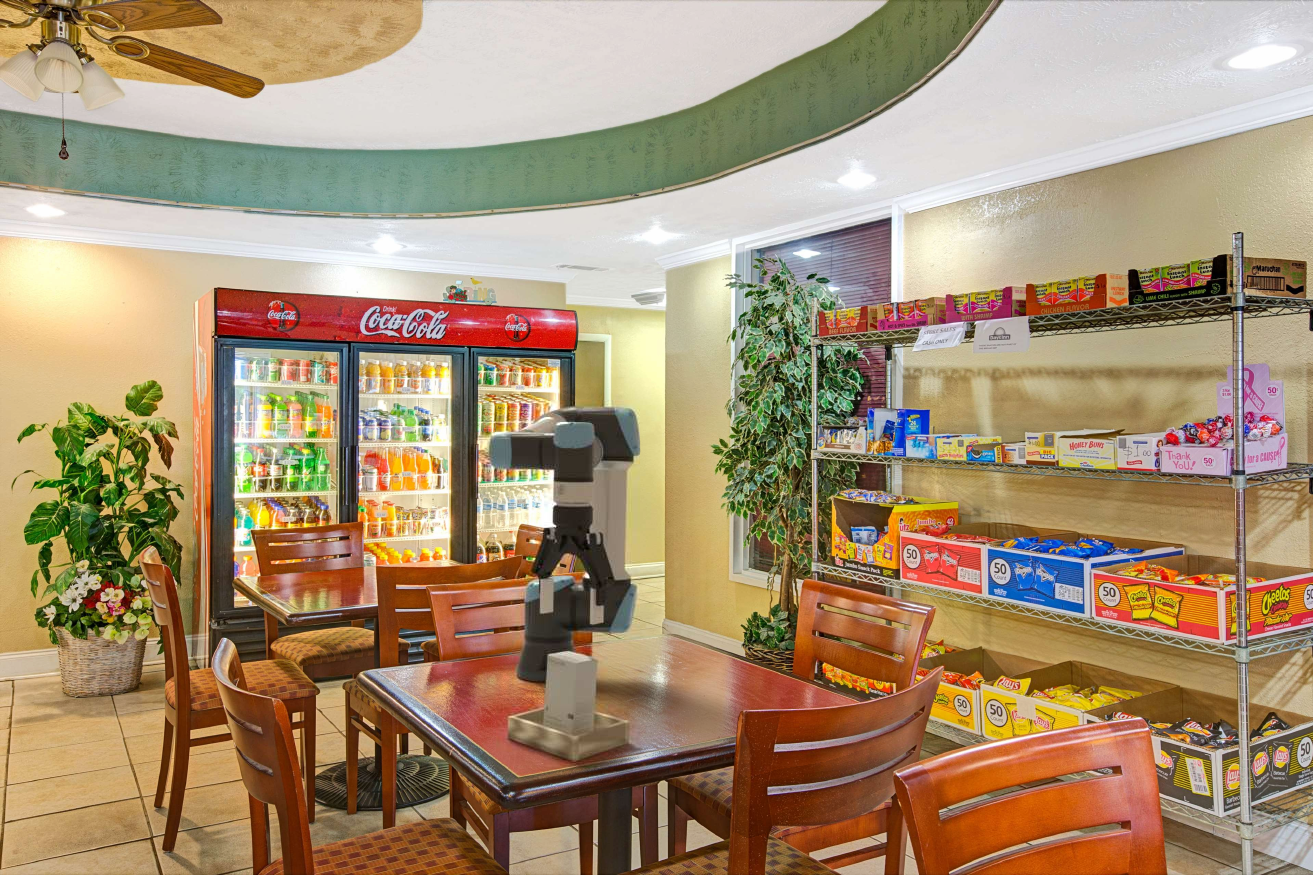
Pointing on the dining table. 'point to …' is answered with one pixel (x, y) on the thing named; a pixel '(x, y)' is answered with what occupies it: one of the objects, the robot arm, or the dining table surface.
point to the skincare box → (570, 692)
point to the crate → (568, 735)
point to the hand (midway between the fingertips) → (570, 617)
